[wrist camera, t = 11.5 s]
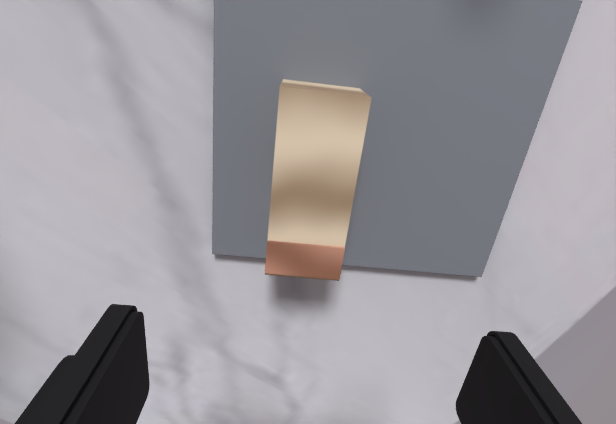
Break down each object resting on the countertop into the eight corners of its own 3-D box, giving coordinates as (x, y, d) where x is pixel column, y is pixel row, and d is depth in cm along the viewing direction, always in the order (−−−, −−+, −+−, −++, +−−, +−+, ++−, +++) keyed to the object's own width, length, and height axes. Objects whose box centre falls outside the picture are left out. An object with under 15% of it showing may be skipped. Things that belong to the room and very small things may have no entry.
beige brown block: (283, 79, 24) (279, 86, 20) (359, 88, 24) (372, 97, 20) (269, 241, 29) (264, 275, 25) (333, 247, 29) (339, 282, 25)
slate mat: (214, 248, 30) (212, 253, 29) (217, -48, 22) (214, -51, 21) (477, 271, 31) (481, 276, 31) (573, 2, 23) (582, 0, 22)
